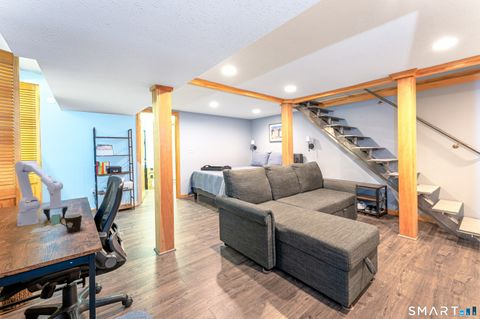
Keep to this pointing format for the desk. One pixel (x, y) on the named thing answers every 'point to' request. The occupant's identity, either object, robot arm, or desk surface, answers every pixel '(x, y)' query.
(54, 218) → the block
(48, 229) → the pad
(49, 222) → the tan shallow tray
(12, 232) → the desk surface
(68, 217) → the coffee mug
